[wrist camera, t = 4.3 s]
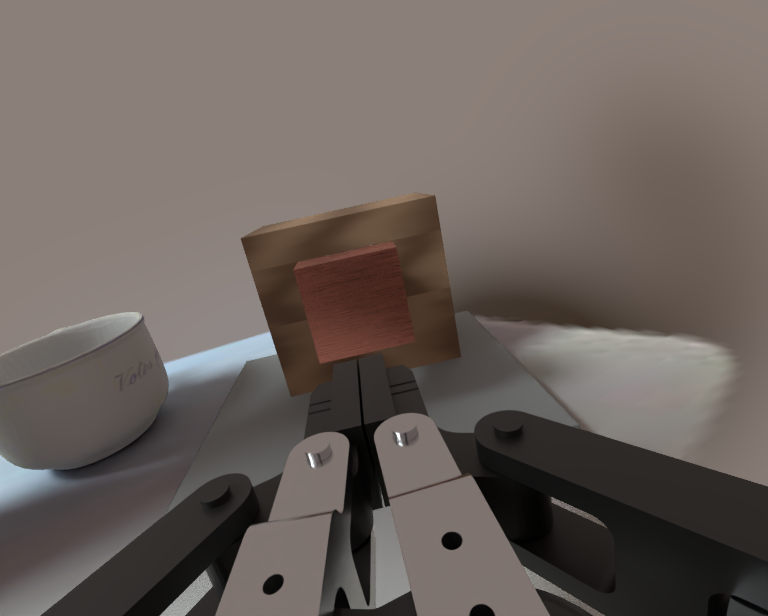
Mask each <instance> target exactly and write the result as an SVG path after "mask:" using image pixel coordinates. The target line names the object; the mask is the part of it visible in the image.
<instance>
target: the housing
mask: <svg viewBox="0 0 768 616" xmlns="http://www.w3.org/2000/svg"><path fill="white" fill-rule="evenodd" d="M241 241H242V244H243V247H244V251H245V254H246V257H247V260H248V263H249V266H250V269H251V273H252V276H253V279H254V282H255V285H256V288H257V292H258V295H259V298H260V301H261V304H262V307H263V310H264V313H265V317H266V320H267V323H268V326H269V329H270V333H271V336H272V339H273V342H274V345H275V348H276V351H277V355H278V358H279V361H280V364H281V367H282V370H283V374H284V377H285V380H286V383H287V386H288V389H289V392H290V396H291V397H293V396H297V395H301V394H305V393H310V392H313V391H314V390H315V389H316V387H317V386H318V385H319V384H322V383H326V382H330V381H332V376H333V364H337V363H342V362H346V361H350V360H355V359H357V360H358V363H359V358H363V357H367V356H372V355H376V354H381V353H382V356H383V360H384V364H385V369H386V368H391V367H395V366H399V365H404V366H405V367H407V368H409V369H412V368H416V367H421V366H425V365H429V364H433V363H438V362H442V361H446V360H450V359H455V358H459V357H461V352H460V346H459V339H458V333H457V327H456V321H455V315H454V310H453V302H452V296H451V290H450V284H449V278H448V272H447V265H446V259H445V253H444V247H443V241H442V235H441V229H440V222H439V216H438V211H437V204H436V198H435V195H428V194H421V193H412V194H408V195H403V196H399V197H394V198H390V199H385V200H380V201H376V202H372V203H367V204H362V205H358V206H354V207H349V208H344V209H340V210H335V211H331V212H326V213H322V214H318V215H313V216H308V217H303V218H299V219H294V220H290V221H285V222H281V223H276V224H272V225H267V226H263V227H261V228H259V229H257V230H255V231H253V232H252V233H250V234H248V235H246V236H244V237H242V238H241ZM390 241H392V242H393V243H394V245H395V246H396V247H397V252H398V257H399V262H400V267H401V272H402V277H403V283H404V288H405V293H406V298H407V303H408V308H409V313H410V318H411V323H412V328H413V333H414V338H415V342H412V343H408V344H403V345H399V346H395V347H391V348H386V349H382V350H378V351H373V352H369V353H365V354H360V355H356V356H352V357H348V358H343V359H339V360H335V361H330V362H326V363H322V364H320V362H319V359H318V355H317V352H316V348H315V345H314V341H313V338H312V334H311V330H310V327H309V323H308V320H307V316H306V313H305V309H304V306H303V302H302V299H301V295H300V292H299V288H298V285H297V281H296V278H295V274H294V271H293V270H294V268H295V266H296V264H297V263H298V262H300V261H305V260H309V259H314V258H318V257H323V256H326V255H329V254H334V253H338V252H343V251H347V250H352V249H356V248H361V247H365V246H369V245H376V244H381V243H385V242H390Z"/></svg>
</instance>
